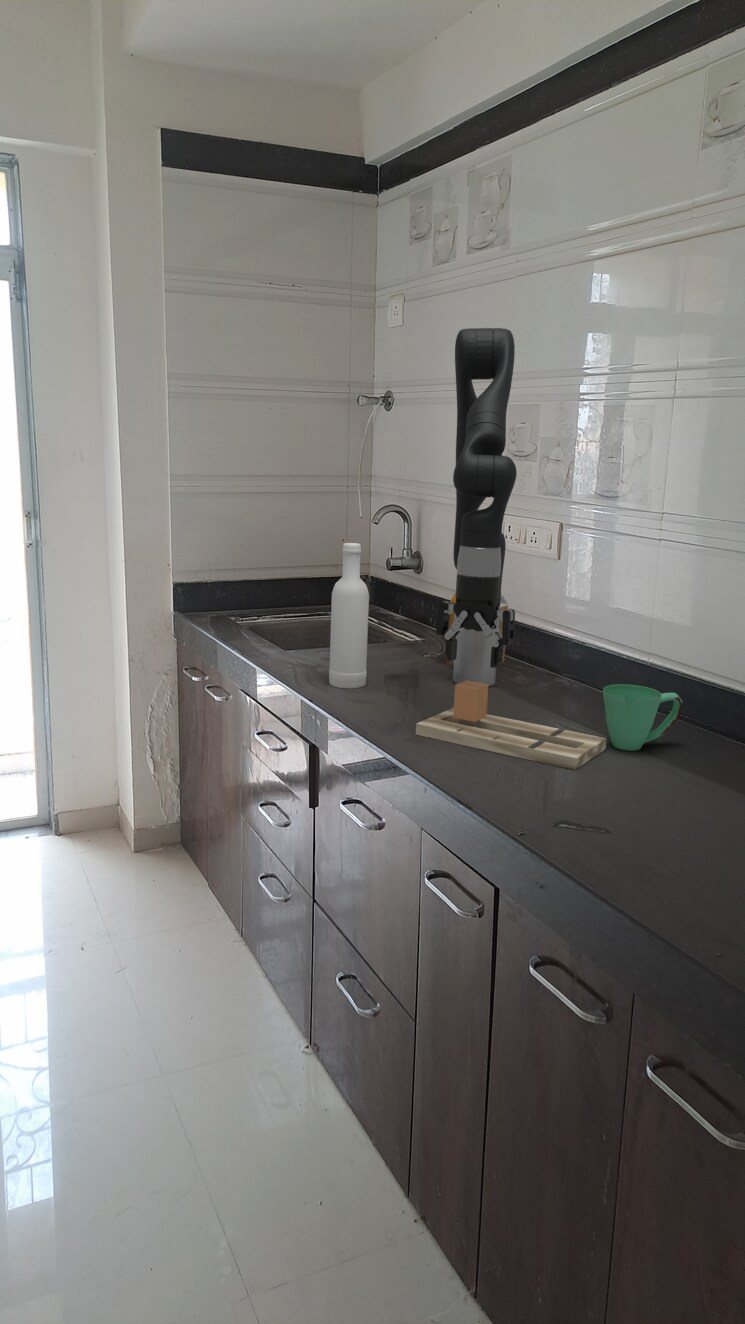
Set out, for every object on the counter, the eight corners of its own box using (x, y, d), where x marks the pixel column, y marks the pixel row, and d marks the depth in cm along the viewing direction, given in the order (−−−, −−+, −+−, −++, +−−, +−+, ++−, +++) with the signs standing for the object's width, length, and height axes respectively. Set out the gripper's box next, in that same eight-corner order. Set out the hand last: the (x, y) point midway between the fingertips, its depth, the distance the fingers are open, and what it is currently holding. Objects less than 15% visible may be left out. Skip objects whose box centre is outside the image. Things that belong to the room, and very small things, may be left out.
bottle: (344, 690, 198) (349, 546, 191) (321, 682, 204) (325, 542, 197) (373, 685, 203) (379, 544, 196) (349, 678, 209) (354, 541, 202)
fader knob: (463, 726, 174) (466, 680, 172) (485, 731, 172) (488, 684, 170) (452, 731, 171) (455, 684, 169) (474, 736, 168) (477, 689, 166)
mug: (615, 756, 161) (620, 699, 159) (588, 739, 171) (593, 685, 168) (691, 752, 165) (697, 697, 163) (661, 735, 174) (666, 683, 172)
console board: (453, 717, 181) (453, 707, 180) (605, 749, 165) (606, 737, 165) (415, 734, 169) (416, 723, 169) (575, 770, 154) (576, 757, 153)
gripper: (525, 574, 164) (518, 666, 168) (452, 567, 172) (447, 654, 175) (506, 578, 158) (499, 673, 162) (432, 570, 166) (427, 661, 169)
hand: (472, 663), depth 168 cm, fingers open, 8 cm apart
